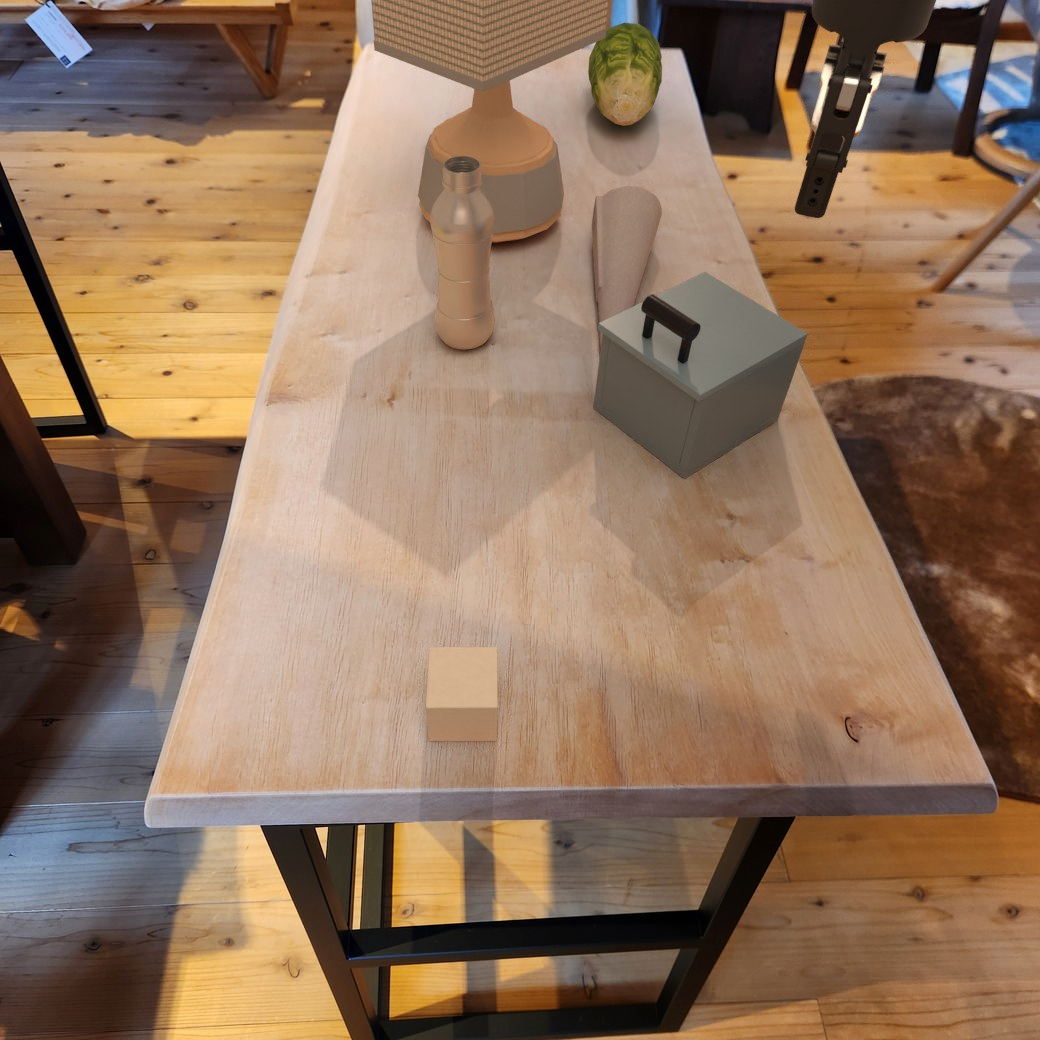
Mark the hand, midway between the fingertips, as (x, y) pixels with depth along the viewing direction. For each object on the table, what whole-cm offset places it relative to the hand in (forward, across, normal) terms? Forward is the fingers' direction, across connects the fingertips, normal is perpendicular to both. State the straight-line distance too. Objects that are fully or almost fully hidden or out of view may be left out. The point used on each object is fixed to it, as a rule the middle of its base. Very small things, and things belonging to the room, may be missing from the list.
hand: (814, 188), depth 66 cm
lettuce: (+27, +69, +30) cm, 80 cm away
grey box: (+26, +2, +6) cm, 27 cm away
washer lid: (+16, +2, +6) cm, 18 cm away
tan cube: (+26, -38, +14) cm, 48 cm away
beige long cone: (+27, +20, +16) cm, 37 cm away
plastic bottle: (+27, +5, +31) cm, 42 cm away
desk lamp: (+27, +31, +38) cm, 56 cm away
